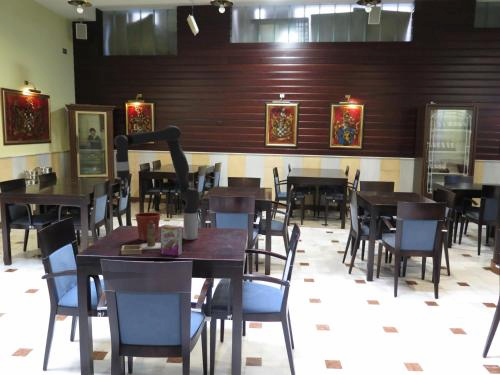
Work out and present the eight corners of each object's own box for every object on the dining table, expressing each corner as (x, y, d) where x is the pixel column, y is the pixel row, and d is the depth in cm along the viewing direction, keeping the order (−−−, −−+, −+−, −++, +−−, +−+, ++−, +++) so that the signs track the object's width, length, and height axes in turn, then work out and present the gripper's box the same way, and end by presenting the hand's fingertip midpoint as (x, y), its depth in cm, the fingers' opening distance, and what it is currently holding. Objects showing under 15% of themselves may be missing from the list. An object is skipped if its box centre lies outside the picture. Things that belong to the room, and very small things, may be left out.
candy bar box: (160, 254, 239) (160, 226, 237) (164, 252, 244) (164, 224, 242) (178, 256, 236) (178, 227, 234) (182, 254, 241) (182, 225, 239)
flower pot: (131, 237, 276) (130, 213, 275) (154, 234, 287) (154, 211, 285) (141, 243, 264) (141, 217, 262) (165, 239, 274) (165, 215, 272)
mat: (141, 244, 261) (141, 243, 260) (161, 243, 263) (161, 242, 263) (141, 249, 249) (141, 248, 249) (161, 248, 252) (161, 247, 252)
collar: (122, 249, 248) (122, 245, 248) (141, 248, 250) (141, 244, 250) (121, 254, 237) (121, 250, 237) (141, 253, 240) (141, 249, 240)
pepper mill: (147, 244, 258) (147, 220, 256) (155, 244, 259) (154, 220, 257) (147, 246, 253) (147, 222, 252) (155, 246, 254) (155, 221, 253)
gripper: (128, 170, 243) (130, 198, 245) (130, 168, 257) (132, 194, 259) (114, 170, 241) (116, 198, 244) (117, 168, 255) (119, 195, 258)
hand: (125, 196), depth 251 cm, fingers open, 8 cm apart
